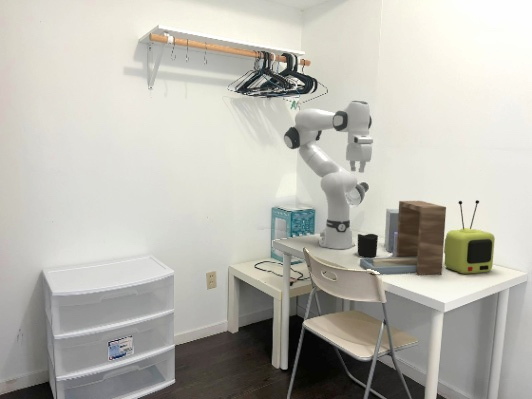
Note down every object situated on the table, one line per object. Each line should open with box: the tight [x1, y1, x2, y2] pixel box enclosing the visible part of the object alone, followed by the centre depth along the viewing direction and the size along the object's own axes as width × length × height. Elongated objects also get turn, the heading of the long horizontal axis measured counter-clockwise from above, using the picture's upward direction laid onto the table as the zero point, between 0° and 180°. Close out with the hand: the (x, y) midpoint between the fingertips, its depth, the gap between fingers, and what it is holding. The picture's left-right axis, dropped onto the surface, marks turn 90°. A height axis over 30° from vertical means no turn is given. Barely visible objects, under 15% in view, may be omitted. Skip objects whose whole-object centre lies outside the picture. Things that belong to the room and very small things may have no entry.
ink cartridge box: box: [391, 232, 398, 258], centre depth 188 cm, size 10×6×14 cm, turn 78°
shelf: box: [396, 200, 447, 276], centre depth 172 cm, size 20×10×28 cm, turn 9°
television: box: [443, 199, 495, 275], centre depth 172 cm, size 18×18×30 cm
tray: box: [359, 256, 417, 276], centre depth 173 cm, size 14×27×3 cm, turn 99°
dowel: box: [372, 258, 417, 267], centre depth 172 cm, size 3×20×3 cm, turn 99°
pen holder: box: [357, 233, 379, 258], centre depth 193 cm, size 9×9×10 cm
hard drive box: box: [384, 208, 399, 253], centre depth 206 cm, size 16×8×20 cm, turn 170°
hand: (357, 171), depth 173 cm, fingers open, 8 cm apart
